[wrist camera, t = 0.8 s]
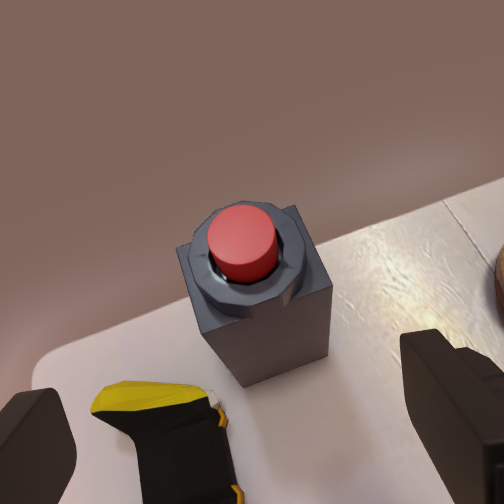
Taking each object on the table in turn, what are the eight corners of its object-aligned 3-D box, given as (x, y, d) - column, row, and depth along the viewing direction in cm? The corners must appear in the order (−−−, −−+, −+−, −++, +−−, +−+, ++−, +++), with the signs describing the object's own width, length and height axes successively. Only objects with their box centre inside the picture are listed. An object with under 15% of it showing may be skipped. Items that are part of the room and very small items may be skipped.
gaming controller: (131, 599, 33) (260, 561, 33) (99, 619, 28) (250, 575, 28) (111, 397, 40) (217, 366, 40) (82, 386, 35) (203, 350, 36)
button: (266, 218, 26) (261, 195, 24) (288, 269, 25) (285, 249, 22) (208, 239, 26) (198, 218, 24) (226, 292, 24) (217, 274, 22)
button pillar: (301, 294, 42) (291, 182, 27) (329, 358, 39) (336, 274, 24) (222, 324, 42) (164, 228, 26) (243, 390, 39) (193, 328, 23)
